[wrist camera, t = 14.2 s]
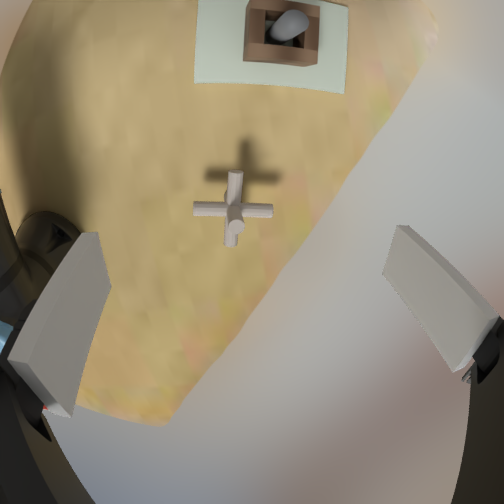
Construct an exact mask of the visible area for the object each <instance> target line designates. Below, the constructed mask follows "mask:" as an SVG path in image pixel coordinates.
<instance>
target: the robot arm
mask: <svg viewBox="0 0 504 504" xmlns="http://www.w3.org/2000/svg"><path fill="white" fill-rule="evenodd" d="M1 193H2V192H1V189H0V504H95V502H94V501H93V500H92V498H91V497H90V495H89V494H88V492H87V491H86V489H85V488H84V486H83V485H82V483H81V482H80V480H79V479H78V477H77V475H76V474H75V472H74V471H73V469H72V467H71V466H70V464H69V462H68V460H67V459H66V457H65V455H64V453H63V452H62V450H61V448H60V446H59V444H58V442H57V440H56V438H55V436H54V434H53V432H52V430H51V428H50V426H49V424H48V422H47V419H46V418H45V416H44V415H43V414H42V410H43V406H44V405H45V406H46V407H47V408H48V410H49V411H50V412H51V413H52V414H56V415H61V416H66V417H70V418H72V414H73V410H74V405H75V401H76V397H77V393H78V389H79V385H80V381H81V377H82V373H83V370H84V366H85V363H86V359H87V356H88V353H89V349H90V346H91V343H92V340H93V337H94V334H95V331H96V328H97V325H98V322H99V319H100V316H101V313H102V310H103V307H104V305H105V302H106V299H107V297H108V294H109V291H110V289H111V283H110V279H109V276H108V272H107V268H106V264H105V261H104V257H103V252H102V248H101V244H100V240H99V235H98V232H88V233H82V234H80V232H79V231H78V230H77V229H76V227H75V226H74V225H73V224H72V223H70V222H69V221H68V220H67V219H65V218H64V217H62V216H60V215H58V214H55V213H52V212H38V213H35V214H33V215H31V216H30V217H29V218H27V219H26V220H25V221H24V222H23V223H22V224H21V226H20V227H19V229H18V230H17V233H16V236H14V234H13V231H12V228H11V225H10V223H9V220H8V216H7V213H6V210H5V207H4V203H3V200H2V196H1ZM382 274H383V275H384V277H385V278H386V279H387V281H388V282H389V283H390V284H391V286H392V287H393V288H394V290H395V291H396V292H397V294H398V295H399V296H400V297H401V299H402V300H403V301H404V303H405V304H406V305H407V307H408V308H409V309H410V311H411V312H412V314H413V315H414V316H415V318H416V319H417V321H418V322H419V323H420V325H421V326H422V327H423V329H424V330H425V332H426V333H427V335H428V336H429V338H430V339H431V340H432V342H433V343H434V345H435V346H436V348H437V349H438V351H439V352H440V354H441V355H442V357H443V358H444V360H445V362H446V363H447V365H448V366H449V368H450V369H451V371H452V372H455V371H458V370H460V369H462V368H464V367H465V366H466V364H467V363H468V362H469V361H470V359H471V358H472V357H473V358H474V360H475V362H474V363H473V365H472V366H471V367H470V369H469V370H468V371H467V372H466V373H465V375H464V376H463V377H462V381H464V380H465V379H466V378H467V377H468V376H469V375H471V377H470V378H469V379H468V380H467V383H470V384H471V388H470V389H471V390H470V405H469V416H468V425H467V433H466V440H465V446H464V452H463V457H462V463H461V467H460V472H459V476H458V480H457V484H456V488H455V492H454V495H453V499H452V502H451V504H504V320H503V319H502V318H501V317H500V315H499V314H498V313H497V312H496V311H495V310H494V308H493V307H492V306H491V305H490V304H489V303H488V302H487V301H486V300H485V298H484V297H483V296H482V295H481V294H480V293H479V292H478V291H477V290H476V289H475V288H474V287H473V286H472V285H471V284H470V283H469V281H467V279H466V278H464V276H463V275H462V274H461V273H460V272H459V271H458V270H457V269H455V267H453V265H451V264H450V263H449V262H448V261H447V260H446V259H445V258H444V257H443V256H442V255H441V254H440V253H439V252H438V251H437V250H436V249H434V248H433V247H432V246H431V245H430V244H429V243H428V242H427V241H426V240H425V239H423V238H422V237H421V236H420V235H419V234H417V232H415V231H414V230H413V229H412V228H411V227H410V226H402V225H399V226H398V225H397V226H396V230H395V234H394V237H393V241H392V244H391V247H390V251H389V254H388V257H387V260H386V263H385V266H384V269H383V272H382Z"/></svg>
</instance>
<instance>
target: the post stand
mask: <svg viewBox="0 0 504 504" xmlns="http://www.w3.org/2000/svg"><path fill="white" fill-rule="evenodd" d="M288 1H295V2H300V3H306V4H311V5H316V6H320V23H319V45H318V63H317V64H315V65H311V66H307V67H300V66H292V65H283V64H273V63H261V62H244V61H243V47H244V29H245V12H246V6H247V4H248V2H249V0H199V2H198V15H197V30H196V47H195V71H194V84H199V83H240V84H262V85H276V86H287V87H297V88H305V89H313V90H320V91H327V92H333V93H339V94H344V89H345V76H346V60H347V40H348V7H344V6H341V5H337V4H333V3H329V2H324V1H320V0H288ZM308 26H309V20H308V17H307V16H306V15H305V14H304V13H303V12H301V11H299V10H288V11H286V12H285V13H284V14H283V15H282V16H281V17H280V18H279V19H278V20H277V21H267V20H265V32H264V44H270V45H280V46H288V47H293V37H295V36H297V35H298V34H300V33H302V32H303V31H305V30H306V29H307V28H308Z"/></svg>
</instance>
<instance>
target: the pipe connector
mask: <svg viewBox="0 0 504 504" xmlns="http://www.w3.org/2000/svg"><path fill="white" fill-rule="evenodd" d="M243 173H244V172H243V171H241V170H229V172H228V185H227V191H226V192H225V194H224V201H225V202H205V201H194V203H193V216H225V230H224V245H225V246H227V247H235V246H237V240H238V234H240V233H241V232H243V230H244V228H245V225H244V221H243V217H263V218H272V216H273V204H263V203H241V194H242V184H243Z"/></svg>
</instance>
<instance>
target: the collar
mask: <svg viewBox="0 0 504 504" xmlns="http://www.w3.org/2000/svg"><path fill="white" fill-rule="evenodd" d="M288 10H299V11H301V12H303V13H304V14H305V15H306V16H307V17H308V20H309V26H308V28H307V29H306V30H305V31H303V32H302V33H300V34H298V35H297V36H295V37H293V47H288V46H280V45H270V44H264V32H265V20H267V21H277V20H278V19H279V18H280V17H281V16H282V15H283V14H284V13H285V12H286V11H288ZM319 23H320V6H316V5H311V4H306V3H300V2H295V1H288V0H249V2H248V4H247V6H246V12H245V29H244V47H243V61H244V62H261V63H273V64H283V65H292V66H300V67H307V66H311V65H315V64H317V63H318V45H319Z"/></svg>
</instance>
